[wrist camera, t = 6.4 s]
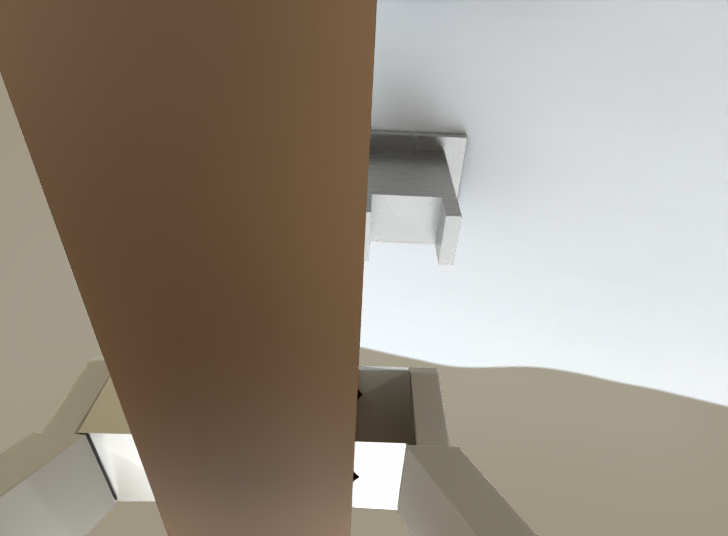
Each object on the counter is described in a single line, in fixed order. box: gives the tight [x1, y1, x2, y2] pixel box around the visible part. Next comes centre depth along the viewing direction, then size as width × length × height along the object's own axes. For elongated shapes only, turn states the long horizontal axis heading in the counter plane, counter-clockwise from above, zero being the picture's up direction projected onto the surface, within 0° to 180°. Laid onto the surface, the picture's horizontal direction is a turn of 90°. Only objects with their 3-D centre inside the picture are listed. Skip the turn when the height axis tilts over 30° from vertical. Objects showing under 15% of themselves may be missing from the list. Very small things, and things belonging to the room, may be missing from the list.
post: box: [364, 130, 467, 265], centre depth 30 cm, size 8×5×9 cm, turn 88°
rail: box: [0, 0, 377, 536], centre depth 9 cm, size 3×21×3 cm, turn 178°
